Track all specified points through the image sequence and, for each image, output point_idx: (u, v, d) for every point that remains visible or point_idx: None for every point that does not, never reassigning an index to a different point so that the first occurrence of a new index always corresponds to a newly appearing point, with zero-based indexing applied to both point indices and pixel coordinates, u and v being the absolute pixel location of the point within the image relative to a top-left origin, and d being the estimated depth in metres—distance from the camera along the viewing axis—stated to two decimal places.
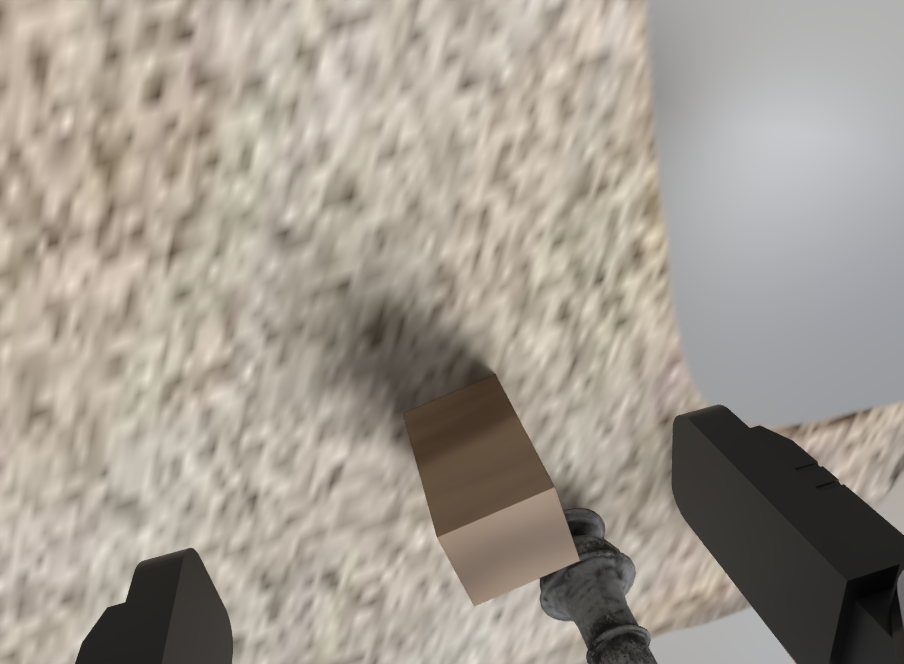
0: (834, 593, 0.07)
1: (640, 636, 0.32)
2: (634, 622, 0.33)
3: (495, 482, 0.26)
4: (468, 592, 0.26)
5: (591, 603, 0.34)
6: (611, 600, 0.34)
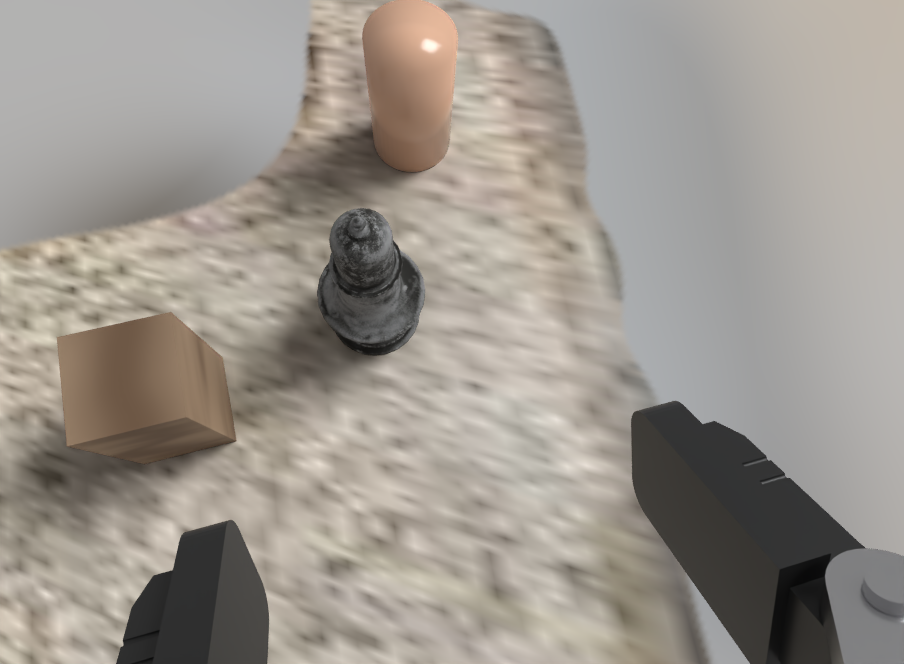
0: (769, 581, 0.08)
1: None
2: None
3: None
4: (161, 421, 0.27)
5: (342, 291, 0.32)
6: None
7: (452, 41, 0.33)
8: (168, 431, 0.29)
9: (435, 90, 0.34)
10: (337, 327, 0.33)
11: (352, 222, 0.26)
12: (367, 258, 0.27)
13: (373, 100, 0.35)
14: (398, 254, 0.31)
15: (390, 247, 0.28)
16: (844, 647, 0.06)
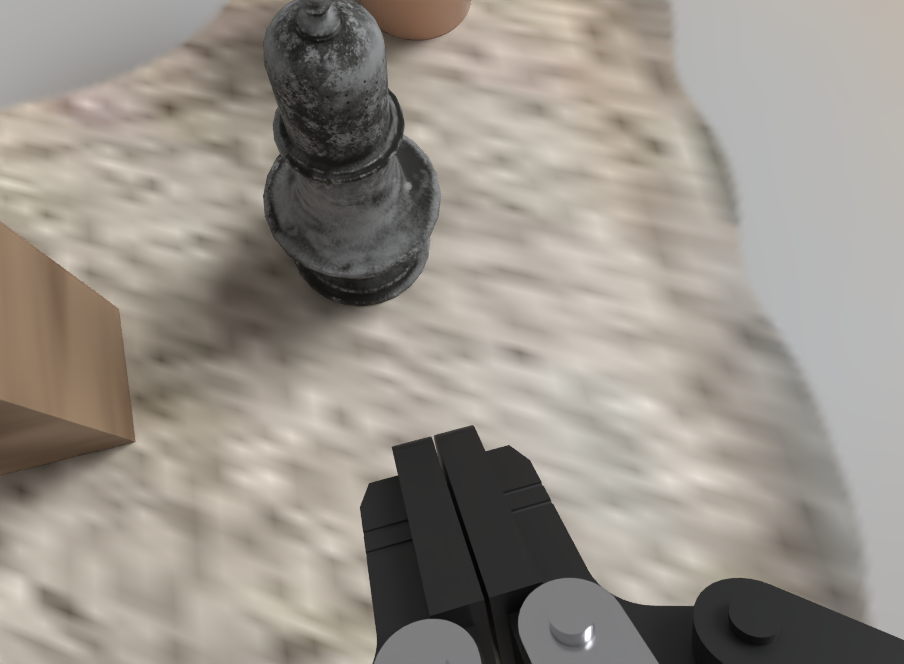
0: (489, 608, 0.08)
1: None
2: None
3: None
4: None
5: (301, 184, 0.19)
6: None
7: None
8: None
9: None
10: (295, 251, 0.20)
11: None
12: (336, 80, 0.14)
13: None
14: (396, 109, 0.17)
15: (381, 68, 0.14)
16: None
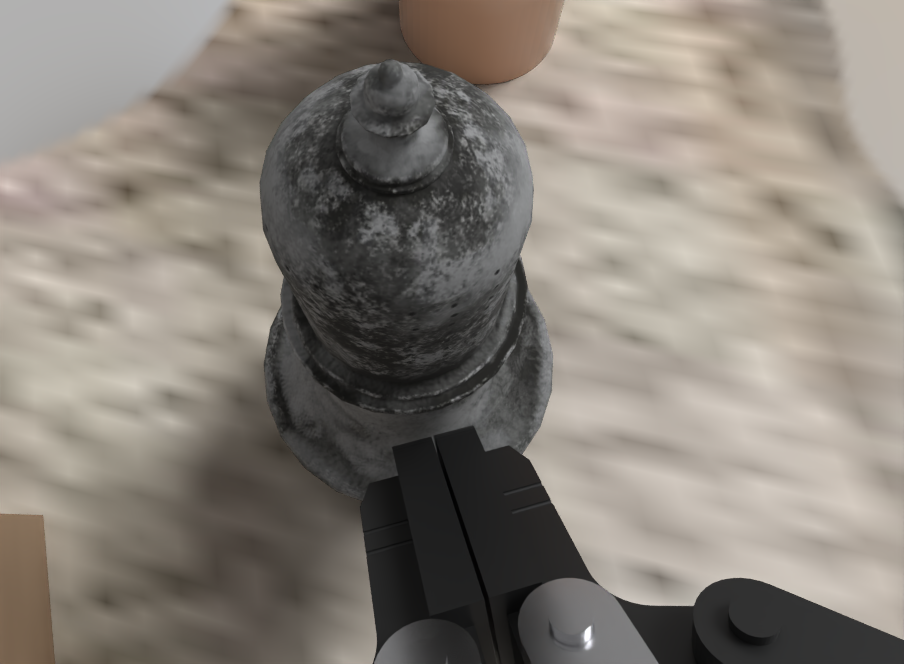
0: (490, 608, 0.08)
1: None
2: None
3: None
4: None
5: None
6: None
7: None
8: None
9: None
10: (318, 464, 0.12)
11: (362, 93, 0.05)
12: (435, 281, 0.06)
13: None
14: None
15: (527, 230, 0.06)
16: None
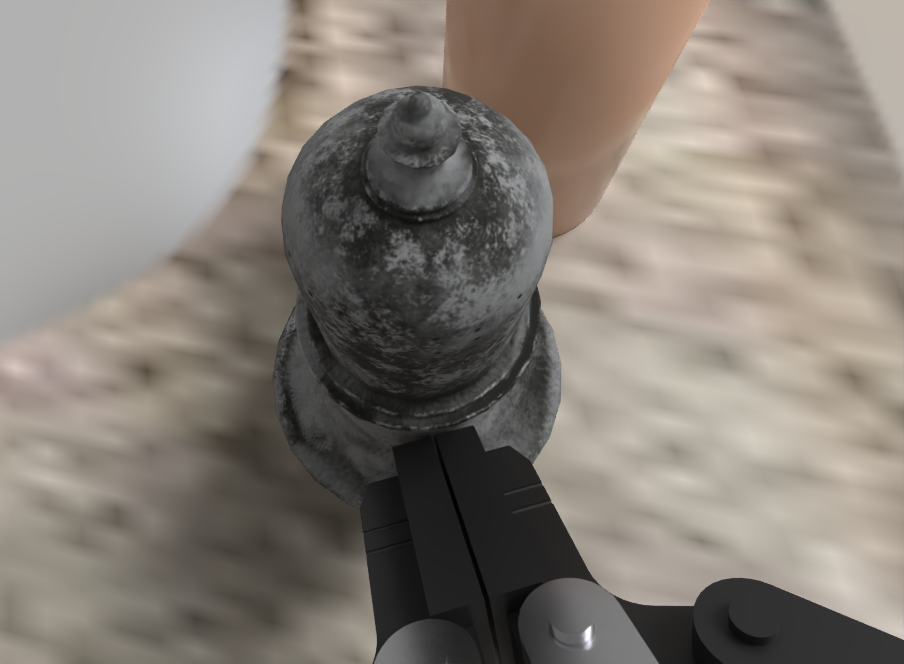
0: (490, 608, 0.08)
1: None
2: None
3: None
4: None
5: None
6: None
7: None
8: None
9: (675, 28, 0.11)
10: (329, 477, 0.12)
11: (390, 124, 0.05)
12: (460, 308, 0.06)
13: (466, 67, 0.13)
14: None
15: (548, 253, 0.06)
16: None
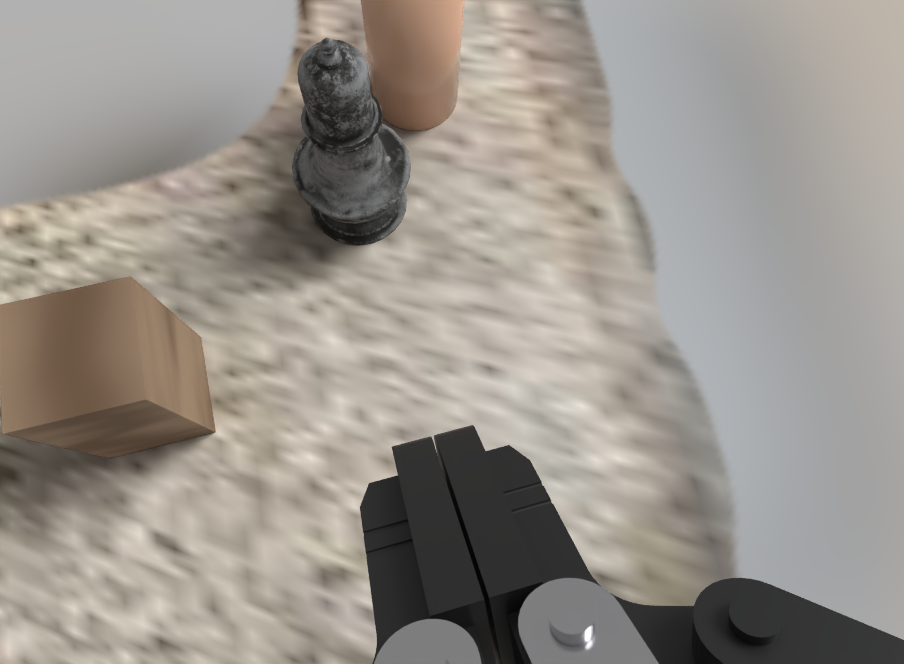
0: (490, 609, 0.08)
1: None
2: None
3: None
4: (116, 404, 0.23)
5: (318, 157, 0.29)
6: None
7: None
8: (128, 417, 0.24)
9: (440, 25, 0.29)
10: (314, 202, 0.30)
11: (321, 45, 0.23)
12: (339, 90, 0.24)
13: (370, 42, 0.31)
14: (378, 107, 0.28)
15: (366, 82, 0.25)
16: None
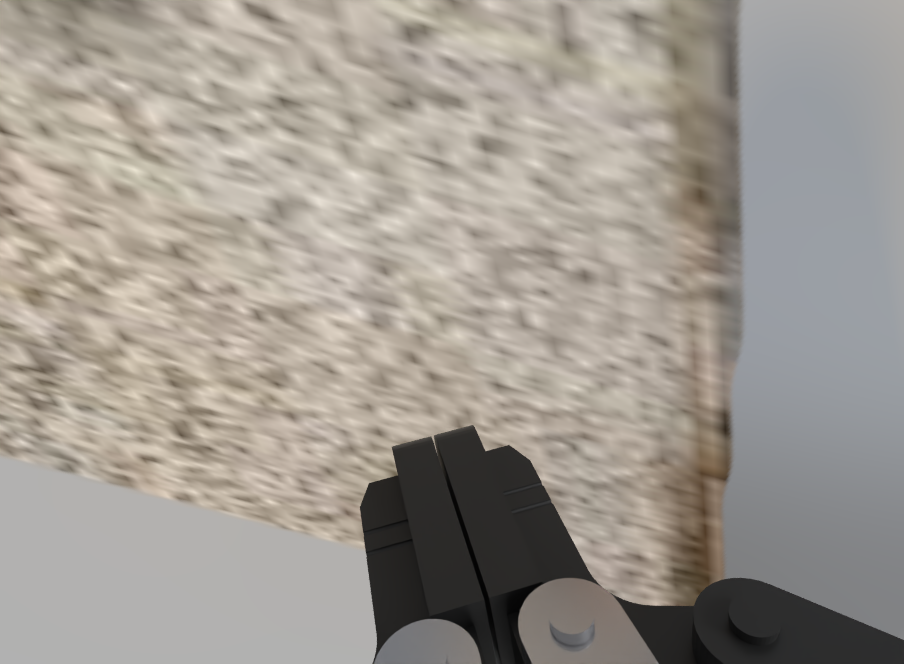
0: (490, 608, 0.08)
1: None
2: None
3: None
4: None
5: None
6: None
7: None
8: None
9: None
10: None
11: None
12: None
13: None
14: None
15: None
16: None
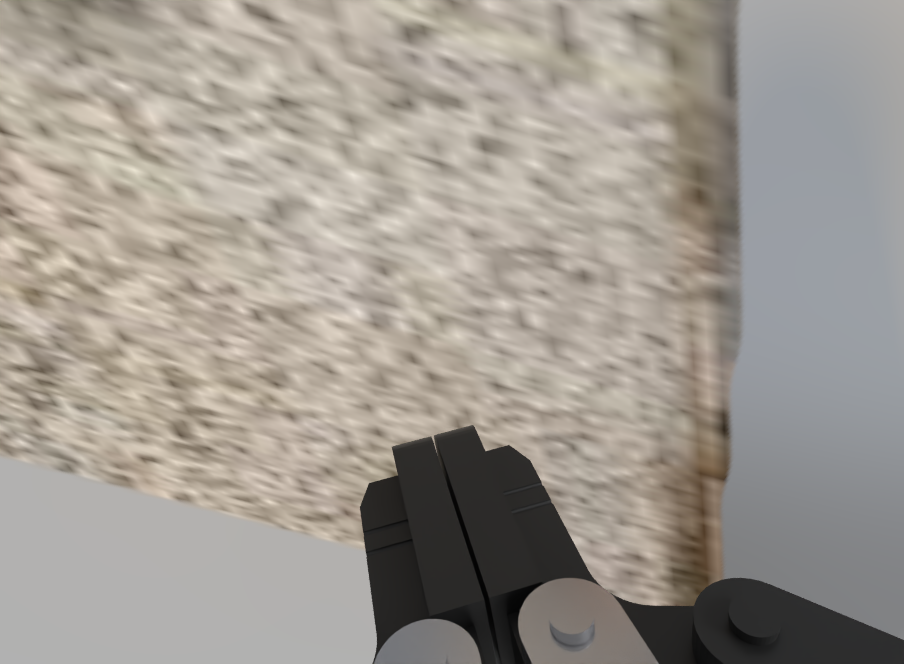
0: (490, 608, 0.08)
1: None
2: None
3: None
4: None
5: None
6: None
7: None
8: None
9: None
10: None
11: None
12: None
13: None
14: None
15: None
16: None
